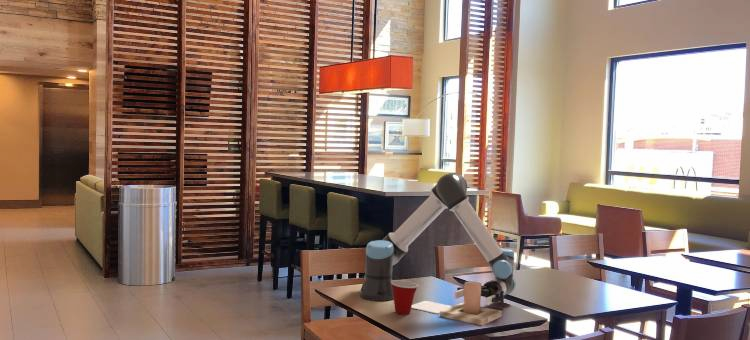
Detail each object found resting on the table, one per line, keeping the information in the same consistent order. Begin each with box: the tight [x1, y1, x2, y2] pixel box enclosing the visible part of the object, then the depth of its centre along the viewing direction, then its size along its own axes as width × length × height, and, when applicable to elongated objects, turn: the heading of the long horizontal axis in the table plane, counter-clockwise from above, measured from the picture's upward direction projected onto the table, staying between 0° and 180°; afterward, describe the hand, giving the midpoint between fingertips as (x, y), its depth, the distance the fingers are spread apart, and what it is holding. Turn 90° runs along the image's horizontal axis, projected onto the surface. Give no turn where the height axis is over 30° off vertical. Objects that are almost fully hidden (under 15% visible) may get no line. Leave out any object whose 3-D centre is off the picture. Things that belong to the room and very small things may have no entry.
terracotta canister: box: [463, 280, 482, 315], centre depth 251 cm, size 6×6×13 cm
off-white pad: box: [411, 300, 452, 315], centre depth 262 cm, size 14×14×1 cm
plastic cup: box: [391, 279, 419, 315], centre depth 252 cm, size 11×11×12 cm
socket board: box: [439, 302, 503, 326], centre depth 251 cm, size 18×18×2 cm
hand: (471, 298), depth 250 cm, fingers open, 13 cm apart
